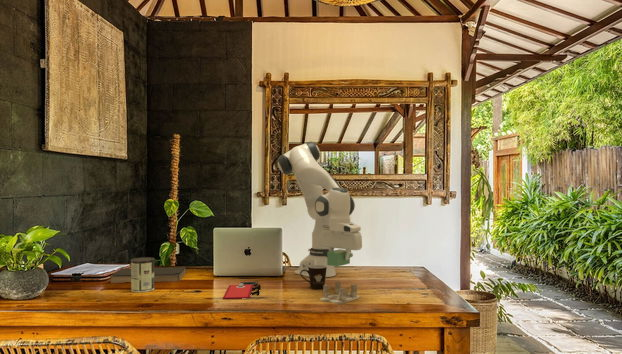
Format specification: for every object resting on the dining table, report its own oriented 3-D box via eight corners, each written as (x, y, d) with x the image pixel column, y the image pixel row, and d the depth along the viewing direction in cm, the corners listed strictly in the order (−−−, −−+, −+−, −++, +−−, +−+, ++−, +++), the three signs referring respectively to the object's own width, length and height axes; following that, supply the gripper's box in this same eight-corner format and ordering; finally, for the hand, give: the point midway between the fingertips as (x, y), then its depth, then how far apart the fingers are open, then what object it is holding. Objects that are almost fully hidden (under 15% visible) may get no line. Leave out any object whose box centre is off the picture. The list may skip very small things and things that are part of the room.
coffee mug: (329, 286, 224) (329, 265, 224) (323, 291, 216) (323, 268, 216) (305, 285, 228) (305, 264, 228) (299, 289, 220) (299, 267, 220)
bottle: (327, 265, 199) (327, 251, 199) (346, 260, 210) (346, 247, 210) (337, 266, 196) (337, 253, 196) (356, 261, 207) (356, 249, 207)
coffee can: (142, 286, 225) (142, 256, 225) (159, 288, 221) (159, 258, 221) (125, 291, 216) (125, 259, 216) (142, 293, 211) (142, 261, 211)
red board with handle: (262, 283, 232) (231, 284, 231) (262, 277, 232) (231, 278, 231) (258, 300, 202) (222, 301, 201) (258, 293, 202) (222, 294, 201)
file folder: (109, 275, 232) (123, 267, 256) (109, 284, 232) (122, 274, 256) (179, 274, 236) (186, 265, 260) (179, 282, 236) (186, 273, 260)
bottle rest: (320, 300, 200) (320, 286, 200) (339, 293, 211) (339, 280, 211) (340, 304, 193) (340, 289, 193) (359, 297, 204) (359, 283, 204)
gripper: (315, 225, 206) (315, 257, 206) (355, 228, 193) (355, 262, 193) (324, 224, 211) (324, 255, 211) (364, 227, 198) (364, 260, 198)
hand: (339, 258), depth 202 cm, fingers closed on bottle, 5 cm apart
